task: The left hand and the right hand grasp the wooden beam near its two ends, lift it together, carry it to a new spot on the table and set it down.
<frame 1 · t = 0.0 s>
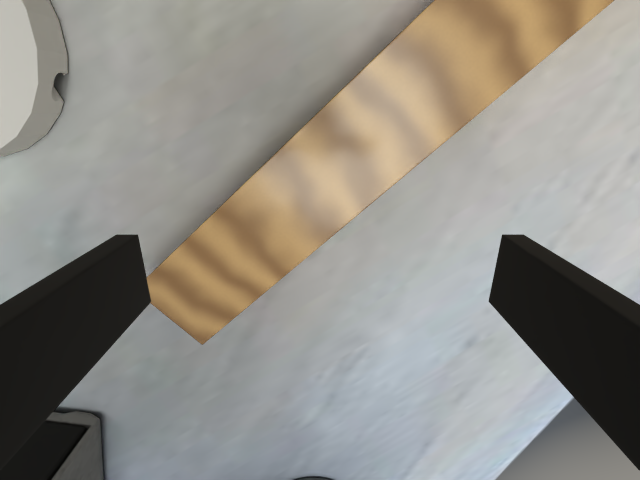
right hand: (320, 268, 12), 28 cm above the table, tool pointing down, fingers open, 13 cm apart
electronic device: (1, 445, 55), on the table
wooden beam: (419, 82, 36), on the table
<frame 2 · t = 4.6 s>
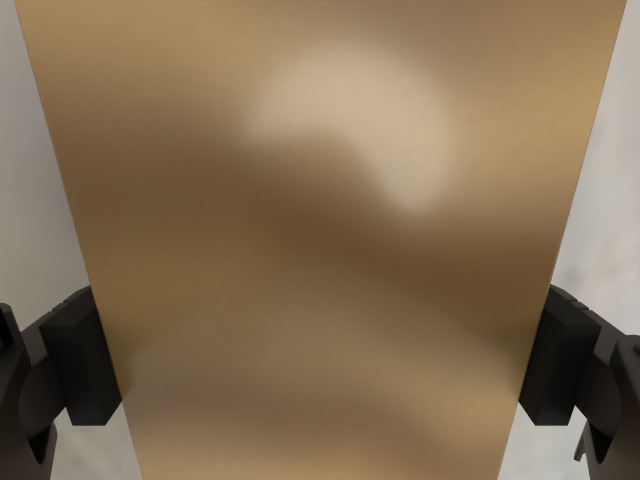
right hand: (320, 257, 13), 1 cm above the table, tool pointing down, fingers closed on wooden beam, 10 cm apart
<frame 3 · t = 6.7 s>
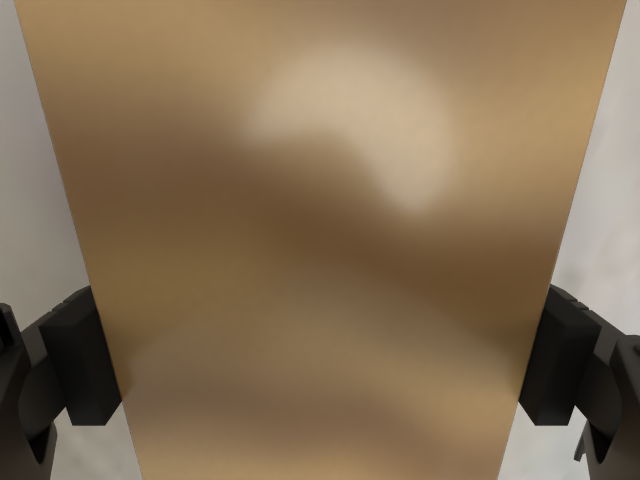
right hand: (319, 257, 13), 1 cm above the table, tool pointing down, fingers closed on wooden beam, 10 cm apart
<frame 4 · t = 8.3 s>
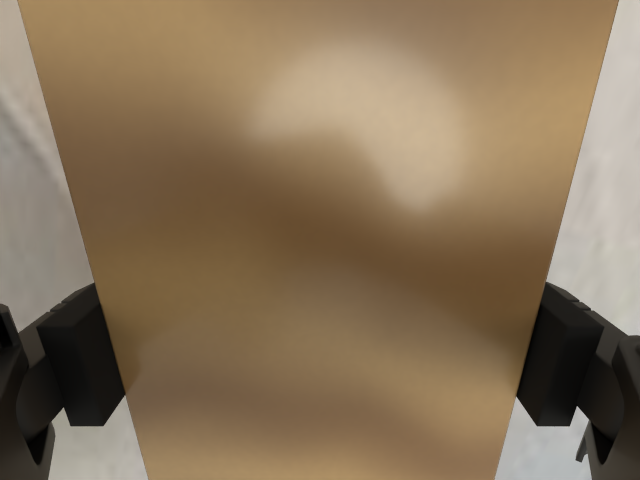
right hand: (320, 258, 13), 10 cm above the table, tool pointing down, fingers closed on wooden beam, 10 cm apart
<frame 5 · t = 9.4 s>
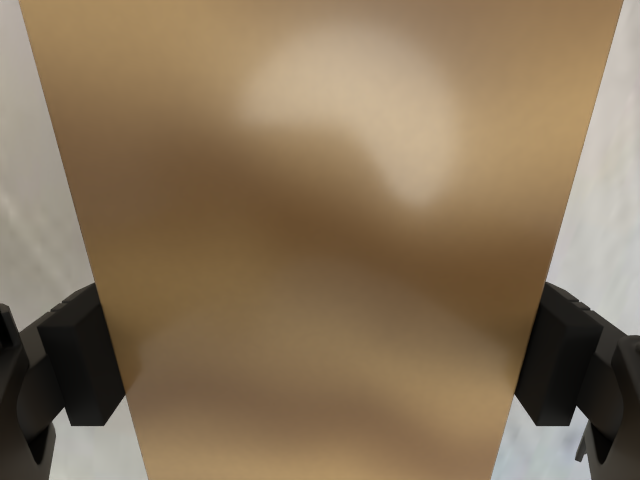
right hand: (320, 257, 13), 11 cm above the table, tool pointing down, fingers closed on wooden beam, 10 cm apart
when the left hand's fingers open (2 cm above the table, at t = 12.1 s): wooden beam drops 1 cm, on the table.
when the right hand's fingers open (2 cm above the table, at t = 12.1 s): wooden beam drops 1 cm, on the table.
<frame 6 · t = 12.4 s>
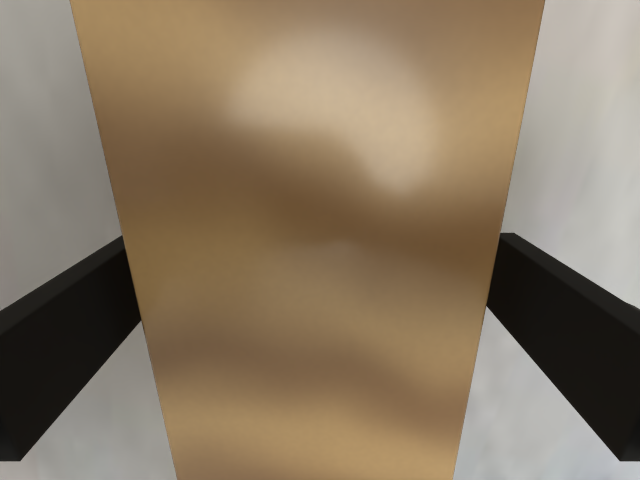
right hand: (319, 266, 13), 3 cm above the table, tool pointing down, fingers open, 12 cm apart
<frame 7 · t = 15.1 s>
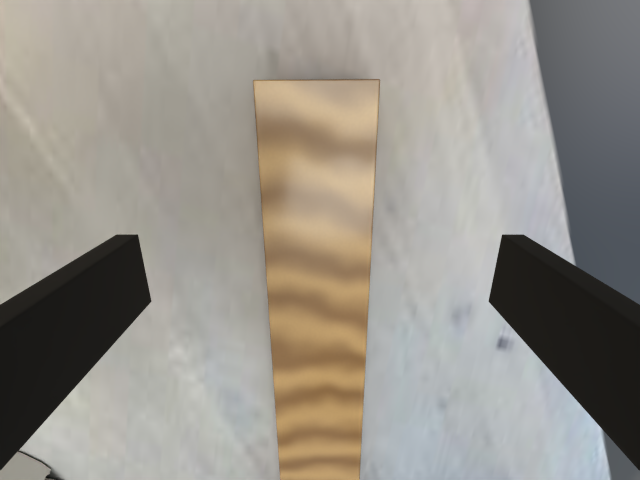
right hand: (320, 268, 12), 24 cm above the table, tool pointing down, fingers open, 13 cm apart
wooden beam: (319, 389, 45), on the table
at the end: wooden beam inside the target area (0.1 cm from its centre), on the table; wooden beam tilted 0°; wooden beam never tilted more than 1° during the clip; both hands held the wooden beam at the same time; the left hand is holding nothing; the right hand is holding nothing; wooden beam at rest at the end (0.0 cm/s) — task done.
